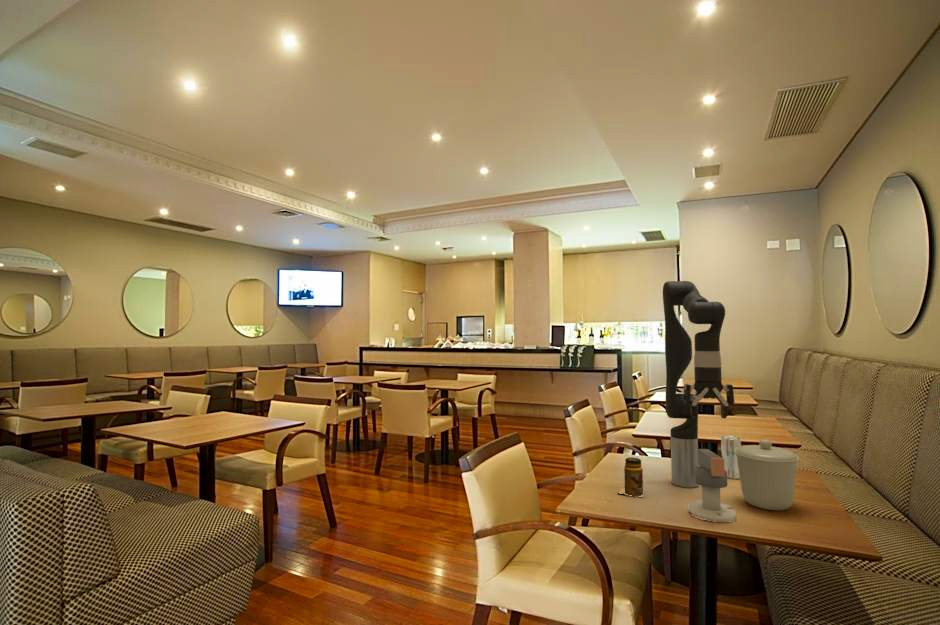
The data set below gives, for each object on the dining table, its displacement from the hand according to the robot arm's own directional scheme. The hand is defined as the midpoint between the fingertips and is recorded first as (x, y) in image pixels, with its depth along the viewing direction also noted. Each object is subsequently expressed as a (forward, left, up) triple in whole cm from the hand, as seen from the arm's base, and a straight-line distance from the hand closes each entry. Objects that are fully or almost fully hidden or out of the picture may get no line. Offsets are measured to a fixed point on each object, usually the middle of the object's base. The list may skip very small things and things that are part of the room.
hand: (709, 417), depth 148 cm
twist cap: (0, 0, -20) cm, 20 cm away
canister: (-10, +21, -30) cm, 38 cm away
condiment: (-18, -20, -30) cm, 40 cm away
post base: (0, 0, -30) cm, 30 cm away
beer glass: (-41, +23, -30) cm, 56 cm away
